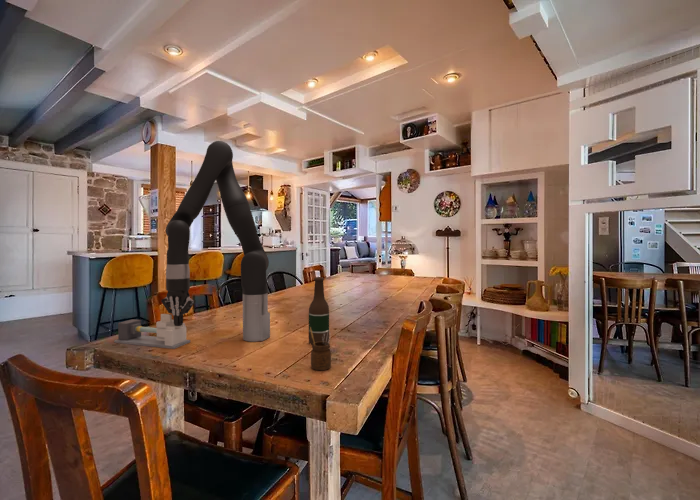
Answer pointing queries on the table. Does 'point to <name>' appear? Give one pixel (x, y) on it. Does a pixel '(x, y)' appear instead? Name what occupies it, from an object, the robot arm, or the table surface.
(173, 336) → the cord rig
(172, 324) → the cream stepped block
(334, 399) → the table surface
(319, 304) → the beer bottle
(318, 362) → the utensil holder
